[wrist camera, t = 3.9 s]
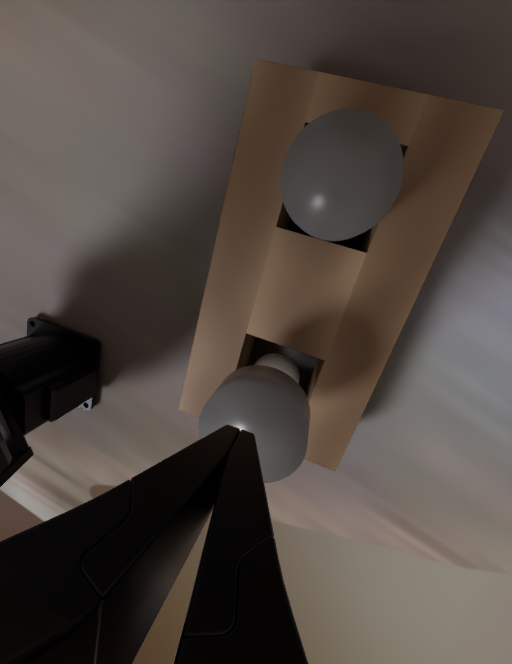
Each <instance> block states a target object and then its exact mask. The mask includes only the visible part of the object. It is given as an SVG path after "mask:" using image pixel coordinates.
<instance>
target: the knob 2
mask: <svg viewBox="0 0 512 664" xmlns="http://www.w3.org/2000/svg"><path fill="white" fill-rule="evenodd" d="M403 170H404V162H403V154H402V149H401V146H400V143H399V140H398V139H397V137H396V135H395V133H394V132H393V130H392V129H391V127H390V126H389V125H388V124H387V123H386V122H385V121H384V120H382V119H381V118H379V117H378V116H377V115H374V114H372V113H370V112H368V111H364V110H361V109H353V108H350V109H339V110H334V111H331V112H328V113H326V114H323V115H321V116H319V117H318V118H316V119H314V120H313V121H311V122H310V123H309V124H308V125H306V126H305V127H304V128H303V129H302V130H301V131H300V132H299V134H298V135H297V136H296V137H295V139H294V140H293V142H292V143H291V145H290V147H289V149H288V151H287V153H286V155H285V158H284V161H283V164H282V169H281V177H280V189H281V196H282V200H283V203H284V206H285V208H286V210H287V212H288V214H289V216H290V217H291V219H292V220H293V221H294V222H295V223H296V224H297V225H298V226H299V227H300V228H301V229H302V230H304V231H305V232H306V233H308V234H309V235H311V236H313V237H315V238H317V239H320V240H325V241H342V240H347V239H350V238H353V237H355V236H357V235H359V234H362V233H364V232H365V231H367V230H369V229H370V228H372V227H373V226H374V225H376V224H377V223H378V222H379V221H380V220H381V219H382V218H383V217H384V216H385V215H386V213H387V212H388V211H389V210H390V208H391V207H392V205H393V203H394V202H395V200H396V197H397V195H398V193H399V190H400V187H401V184H402V179H403Z"/></svg>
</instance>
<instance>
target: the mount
mask: <svg viewBox="0 0 512 664" xmlns="http://www.w3.org/2000/svg"><path fill="white" fill-rule="evenodd" d="M350 108H353V109H361V110H364V111H368V112H370V113H372V114H374V115H377V116H378V117H379V118H381V119H382V120H384V121H385V122H386V123H387V124H388V125H389V126H390V127H391V129H392V130H393V132H394V133H395V135H396V137H397V139H398V140H399V143H400V146H401V149H402V154H403V162H404V170H403V179H402V184H401V187H400V190H399V193H398V195H397V197H396V200H395V202H394V203H393V205H392V207H391V208H390V210H389V211H388V212H387V213H386V215H385V216H384V217H383V218H382V219H381V220H380V221H379V222H378V223H377V224H376V225H374V226H373V227H372V228H370V229H369V230H367V231H366V233H365V236H364V238H363V241H362V244H361V246H360V249H359V251H358V250H354V249H351V248H347V247H344V246H341V245H337V244H334V243H330V242H327V241H323V240H320V239H316V238H313V237H309V236H306V235H302V234H299V233H296V232H292V231H289V230H287V229H288V226H289V222H290V219H291V217H290V216H289V214H288V212H287V210H286V208H285V206H284V203H283V200H282V196H281V189H280V177H281V169H282V164H283V161H284V158H285V155H286V153H287V151H288V149H289V147H290V145H291V143H292V142H293V140H294V139H295V137H296V136H297V135H298V134H299V132H300V131H301V130H302V129H303V128H304V127H305V126H306V125H308V124H309V123H310V122H311V121H313V120H314V119H316V118H318V117H319V116H321V115H323V114H326V113H328V112H331V111H334V110H339V109H350ZM503 112H504V110H501V109H496V108H491V107H487V106H482V105H477V104H472V103H467V102H462V101H458V100H453V99H448V98H443V97H438V96H434V95H429V94H424V93H419V92H414V91H410V90H405V89H400V88H395V87H390V86H385V85H381V84H376V83H371V82H366V81H361V80H357V79H352V78H347V77H342V76H337V75H333V74H328V73H323V72H318V71H313V70H309V69H304V68H299V67H294V66H289V65H284V64H280V63H275V62H270V61H265V60H260V59H256V58H255V62H254V67H253V72H252V76H251V81H250V85H249V90H248V94H247V99H246V104H245V108H244V113H243V117H242V122H241V126H240V131H239V136H238V140H237V145H236V149H235V154H234V158H233V163H232V168H231V172H230V177H229V181H228V186H227V190H226V195H225V200H224V204H223V209H222V213H221V218H220V222H219V227H218V232H217V236H216V241H215V245H214V250H213V254H212V259H211V264H210V268H209V273H208V277H207V282H206V286H205V291H204V296H203V300H202V305H201V309H200V314H199V318H198V323H197V328H196V332H195V337H194V341H193V346H192V350H191V355H190V360H189V364H188V369H187V373H186V378H185V382H184V387H183V392H182V396H181V401H180V405H179V409H180V410H182V411H185V412H187V413H190V414H192V415H195V416H197V417H200V414H201V411H202V409H203V407H204V405H205V404H206V402H207V401H208V400H209V398H210V397H211V396H212V395H213V393H214V392H215V391H216V390H217V388H218V387H219V386H220V384H221V383H222V382H223V381H224V379H225V378H226V377H227V376H228V375H229V374H231V373H232V372H234V371H235V370H237V369H239V368H242V367H246V366H247V365H248V362H249V358H250V355H251V352H252V348H253V345H254V341H255V338H256V337H259V338H262V339H264V340H267V341H270V342H273V343H276V344H279V345H282V346H285V347H288V348H290V349H293V350H296V351H299V352H302V353H305V354H308V355H311V356H314V357H316V358H318V360H317V362H316V365H315V368H314V370H313V373H312V375H311V378H310V381H309V383H308V386H307V389H306V391H305V394H306V396H307V399H308V402H309V406H310V424H309V434H308V444H307V451H306V454H305V457H304V459H305V460H308V461H310V462H313V463H315V464H318V465H320V466H323V467H325V468H328V469H330V470H333V471H336V469H337V467H338V465H339V463H340V461H341V459H342V456H343V454H344V452H345V450H346V448H347V446H348V444H349V441H350V439H351V437H352V435H353V433H354V431H355V429H356V427H357V424H358V422H359V420H360V418H361V416H362V414H363V412H364V409H365V407H366V405H367V403H368V401H369V399H370V397H371V394H372V392H373V390H374V388H375V386H376V384H377V382H378V379H379V377H380V375H381V373H382V371H383V369H384V367H385V365H386V362H387V360H388V358H389V356H390V354H391V352H392V350H393V347H394V345H395V343H396V341H397V339H398V337H399V335H400V332H401V330H402V328H403V326H404V324H405V322H406V320H407V317H408V315H409V313H410V311H411V309H412V307H413V305H414V303H415V300H416V298H417V296H418V294H419V292H420V290H421V288H422V285H423V283H424V281H425V279H426V277H427V275H428V273H429V270H430V268H431V266H432V264H433V262H434V260H435V258H436V255H437V253H438V251H439V249H440V247H441V245H442V243H443V241H444V238H445V236H446V234H447V232H448V230H449V228H450V226H451V223H452V221H453V219H454V217H455V215H456V213H457V211H458V208H459V206H460V204H461V202H462V200H463V198H464V196H465V194H466V191H467V189H468V187H469V185H470V183H471V181H472V179H473V176H474V174H475V172H476V170H477V168H478V166H479V164H480V161H481V159H482V157H483V155H484V153H485V151H486V149H487V146H488V144H489V142H490V140H491V138H492V136H493V134H494V132H495V129H496V127H497V125H498V123H499V121H500V119H501V117H502V114H503Z"/></svg>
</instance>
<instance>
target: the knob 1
mask: <svg viewBox="0 0 512 664" xmlns="http://www.w3.org/2000/svg"><path fill="white" fill-rule="evenodd" d="M299 380H300V375H299V370H298V368H297V366H296V365H295V363H294V362H293V361H292V360H291V359H290V358H288V357H286V356H284V355H282V354H277V353H271V354H266V355H264V356H262V357H260V358H259V359H258V360H257V361H256V362H255V364H254V365H250V366H246V367H242V368H239V369H237V370H235V371H234V372H232V373H231V374H229V375H228V376H227V377H226V378H225V379H224V381H223V382H222V383H221V384H220V386H219V387H218V388H217V390H216V391H215V392H214V393H213V395H212V396H211V397H210V398H209V400H208V401H207V402H206V404H205V405H204V407H203V409H202V411H201V414H200V419H199V433H200V438H201V439H202V438H204V437H205V436H207V435H209V434H211V433H212V432H214V431H216V430H218V429H219V428H221V427H223V426H225V425H231V426H234V427H237V428H239V429H240V431H241V430H245V431H248V432H251V433H253V434H254V435H255V439H256V445H257V450H258V455H259V460H260V465H261V471H262V476H263V481H264V483H269V482H274V481H278V480H281V479H283V478H285V477H287V476H289V475H290V474H292V473H293V472H294V471H295V470H296V469H297V468H298V467H299V466H300V464H301V463H302V461H303V459H304V457H305V454H306V451H307V444H308V434H309V424H310V406H309V402H308V399H307V396H306V394H305V392H304V391H303V389H302V388H301V386H300V385H299Z"/></svg>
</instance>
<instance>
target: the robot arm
mask: <svg viewBox="0 0 512 664" xmlns="http://www.w3.org/2000/svg"><path fill="white" fill-rule="evenodd" d="M93 345H94V347H93ZM100 350H101V344H100V342H99V341H98V340H96V339H94V338H91V337H89V336H86V335H83V334H81V333H78V332H75V331H73V330H70V329H67V328H65V327H62V326H59V325H57V324H54V323H52V322H49V321H46V320H44V319H41V318H38V317H32V318H29V319H28V321H27V336H26V337H23V338H19V339H16V340H12V341H9V342H6V343H2V344H0V487H1V486H2V485H3V484H4V483H5V482H6V481H7V480H8V479H9V478H10V477H11V476H12V475H13V474H14V473H15V472H16V471H17V470H18V469H19V468H20V467H21V466H22V465H23V464H24V463H25V462H26V461H27V460H28V459H29V458H30V457H32V456H33V454H34V453H33V451H32V449H31V447H29V446H28V444H27V441H26V439H25V437H24V435H26V434H27V433H29V432H31V431H32V430H34V429H36V428H37V427H39V426H40V425H42V424H44V423H45V422H47V421H50V422H53V421H55V420H57V419H59V418H60V417H62V416H63V415H65V414H66V413H68V412H70V411H71V410H73V409H74V408H76V407H79V408H82V409H84V410H87V411H88V410H90V409H92V408H93V407H94V406H95V397H96V389H97V380H98V369H99V360H100ZM213 507H214V508H213ZM212 510H213V512H212ZM211 512H212V516H211V520H210V523H209V527H208V531H207V535H206V539H205V543H204V547H203V551H202V555H201V559H200V562H199V566H198V570H197V574H196V578H195V582H194V586H193V590H192V594H191V597H190V602H189V605H188V609H187V613H186V617H185V621H184V625H183V629H182V633H181V636H180V640H179V645H178V648H177V652H176V656H175V660H174V664H308V662H307V658H306V655H305V651H304V648H303V645H302V642H301V639H300V635H299V632H298V629H297V626H296V622H295V619H294V616H293V613H292V609H291V606H290V602H289V598H288V595H287V592H286V588H285V584H284V581H283V576H282V572H281V567H280V563H279V559H278V554H277V549H276V543H275V539H274V538H273V537H274V533H273V528H272V523H271V518H270V512H269V507H268V502H267V497H266V492H265V486H264V481H263V476H262V471H261V465H260V460H259V455H258V450H257V445H256V439H255V435H254V434H253V433H251V432H248V431H245V430H241V431H240V429H239V428H237V427H234V426H231V425H225V426H223V427H221V428H219V429H218V430H216V431H214V432H212V433H211V434H209V435H207V436H205V437H204V438H202V439H200V440H198V441H197V442H195V443H193V444H191V445H189V446H188V447H186V448H184V449H182V450H181V451H179V452H177V453H175V454H174V455H172V456H170V457H168V458H166V459H165V460H163V461H161V462H159V463H158V464H156V465H154V466H152V467H151V468H149V469H147V470H145V471H143V472H142V473H140V474H138V475H136V476H135V477H133V478H132V479H131V480H127V481H126V482H124V483H122V484H120V485H118V486H117V487H115V488H113V489H111V490H109V491H108V492H106V493H104V494H102V495H100V496H98V497H96V498H94V499H92V500H90V501H88V502H86V503H84V504H82V505H80V506H78V507H76V508H74V509H71V510H69V511H67V512H65V513H63V514H61V515H59V516H56V517H54V518H52V519H50V520H47V521H45V522H43V523H41V524H39V525H37V526H34V527H32V528H30V529H28V530H25V531H23V532H21V533H19V534H16V535H14V536H12V537H10V538H8V539H6V540H3V541H1V542H0V664H132V663H133V661H134V659H135V657H136V655H137V653H138V651H139V650H140V648H141V646H142V644H143V642H144V640H145V638H146V636H147V634H148V632H149V630H150V629H151V626H152V625H153V623H154V621H155V619H156V617H157V615H158V613H159V611H160V610H161V608H162V606H163V604H164V602H165V600H166V598H167V596H168V594H169V592H170V590H171V589H172V587H173V585H174V583H175V581H176V579H177V577H178V575H179V573H180V571H181V570H182V568H183V566H184V564H185V562H186V560H187V558H188V556H189V554H190V552H191V550H192V549H193V547H194V545H195V543H196V541H197V539H198V537H199V535H200V533H201V531H202V529H203V528H204V526H205V523H206V522H207V520H208V518H209V516H210V514H211Z"/></svg>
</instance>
